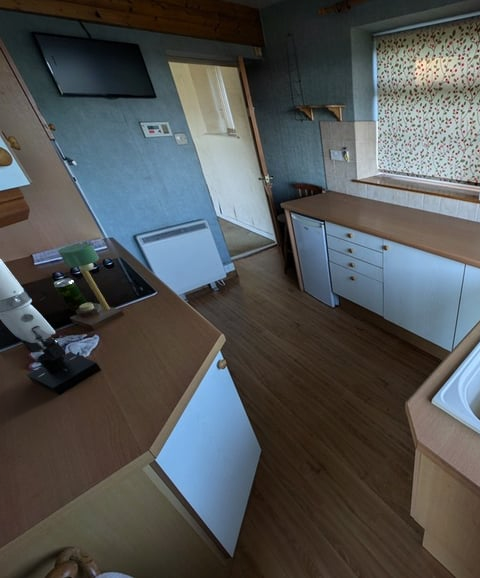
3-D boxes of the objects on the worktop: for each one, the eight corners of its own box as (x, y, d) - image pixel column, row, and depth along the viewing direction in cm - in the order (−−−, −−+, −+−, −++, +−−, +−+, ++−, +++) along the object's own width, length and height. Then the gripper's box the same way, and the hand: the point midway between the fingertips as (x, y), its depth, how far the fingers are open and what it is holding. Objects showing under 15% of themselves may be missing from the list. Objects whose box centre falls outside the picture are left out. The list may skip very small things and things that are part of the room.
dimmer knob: (43, 369, 83) (33, 357, 81) (63, 359, 87) (53, 347, 84) (52, 374, 82) (42, 361, 80) (71, 363, 86) (62, 351, 83)
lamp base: (72, 322, 108) (66, 313, 106) (102, 308, 116) (97, 299, 114) (94, 330, 104) (88, 321, 102) (124, 314, 112) (119, 306, 110)
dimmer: (33, 382, 83) (26, 374, 82) (75, 358, 91) (69, 351, 90) (59, 395, 79) (52, 387, 78) (101, 369, 87) (95, 362, 86)
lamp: (93, 314, 105) (52, 250, 92) (117, 303, 111) (82, 241, 99) (107, 319, 102) (67, 254, 90) (131, 307, 109) (97, 244, 96)
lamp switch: (79, 310, 108) (77, 306, 107) (90, 305, 111) (88, 301, 110) (85, 312, 107) (83, 308, 106) (96, 307, 110) (94, 303, 109)
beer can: (76, 304, 118) (59, 278, 112) (91, 303, 119) (75, 277, 113) (67, 312, 114) (48, 285, 108) (82, 310, 114) (65, 284, 108)
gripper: (45, 300, 73) (82, 351, 82) (9, 288, 79) (48, 337, 88) (3, 317, 67) (48, 370, 76) (-32, 303, 73) (14, 354, 82)
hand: (48, 352), depth 82 cm, fingers open, 9 cm apart
